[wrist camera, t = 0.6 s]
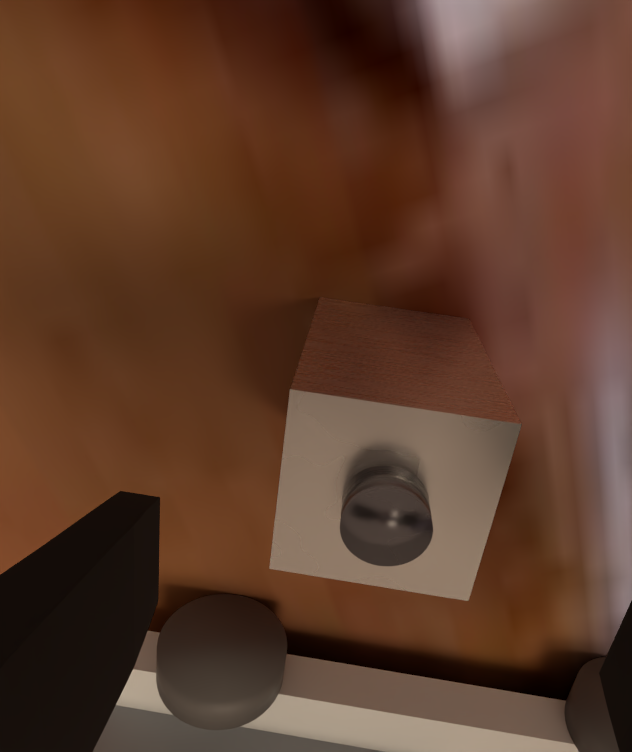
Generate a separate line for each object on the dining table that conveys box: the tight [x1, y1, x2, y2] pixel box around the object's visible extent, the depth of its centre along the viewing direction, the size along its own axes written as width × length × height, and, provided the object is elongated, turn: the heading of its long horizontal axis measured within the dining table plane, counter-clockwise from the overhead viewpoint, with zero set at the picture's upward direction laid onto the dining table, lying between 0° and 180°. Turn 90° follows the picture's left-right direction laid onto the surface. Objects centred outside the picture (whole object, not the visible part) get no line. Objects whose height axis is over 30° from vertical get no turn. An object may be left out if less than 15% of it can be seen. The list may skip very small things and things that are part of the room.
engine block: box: [269, 297, 522, 601], centre depth 13 cm, size 4×4×7 cm
